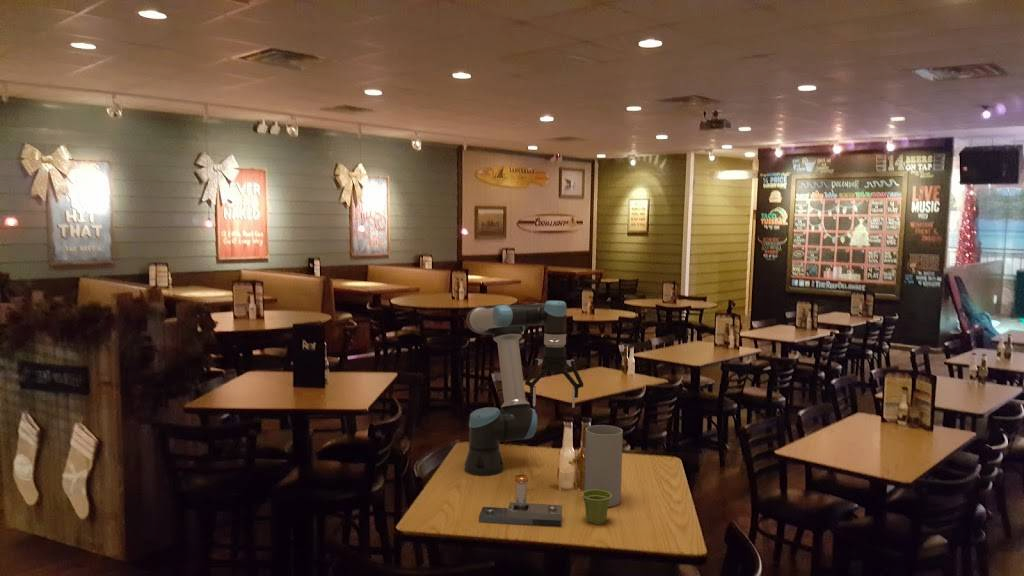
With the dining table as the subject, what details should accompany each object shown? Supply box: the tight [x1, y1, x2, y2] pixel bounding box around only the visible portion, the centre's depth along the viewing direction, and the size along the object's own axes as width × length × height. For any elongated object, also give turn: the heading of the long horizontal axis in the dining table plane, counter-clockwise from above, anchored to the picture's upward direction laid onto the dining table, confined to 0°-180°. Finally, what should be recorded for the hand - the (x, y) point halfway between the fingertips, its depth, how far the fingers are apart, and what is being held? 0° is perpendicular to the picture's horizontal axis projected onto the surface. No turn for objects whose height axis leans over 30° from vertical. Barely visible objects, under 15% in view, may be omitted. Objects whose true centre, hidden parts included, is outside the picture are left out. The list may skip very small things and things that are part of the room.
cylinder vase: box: [583, 424, 624, 508], centre depth 253 cm, size 12×12×25 cm
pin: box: [514, 474, 529, 510], centre depth 236 cm, size 4×4×14 cm
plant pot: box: [581, 490, 612, 525], centre depth 237 cm, size 9×9×9 cm
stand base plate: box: [478, 501, 563, 528], centre depth 237 cm, size 26×8×5 cm, turn 84°
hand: (553, 406), depth 257 cm, fingers open, 13 cm apart
